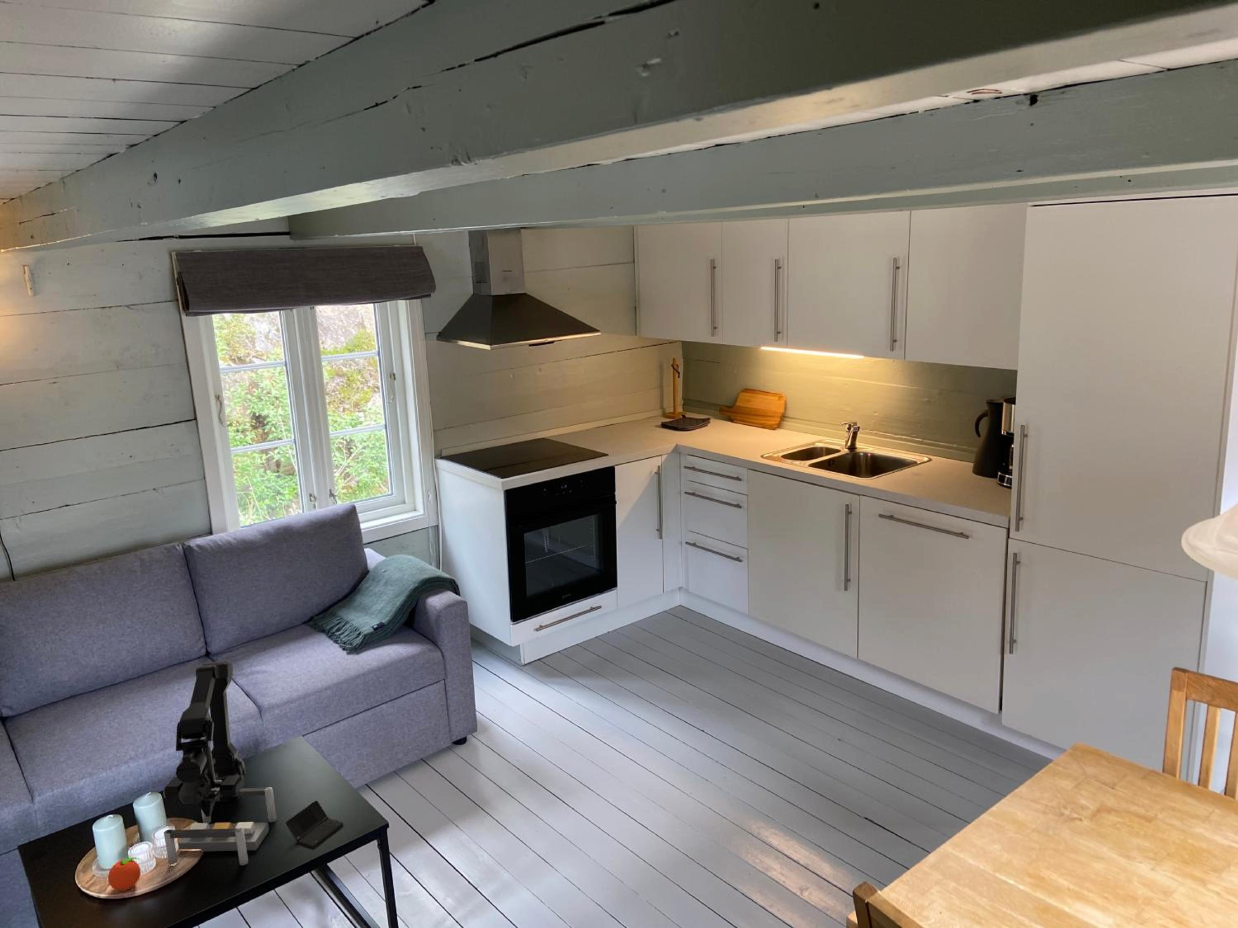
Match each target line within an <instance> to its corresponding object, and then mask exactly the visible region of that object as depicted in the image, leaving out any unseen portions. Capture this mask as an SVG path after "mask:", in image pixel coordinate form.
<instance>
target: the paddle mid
mask: <svg viewBox="0 0 1238 928" xmlns="http://www.w3.org/2000/svg"><path fill="white" fill-rule="evenodd" d="M214 824H215V825H214V827H213V829H232V825H231V824H232V823H231V822H215V823H214Z"/></svg>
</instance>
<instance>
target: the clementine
mask: <svg viewBox="0 0 1238 928" xmlns="http://www.w3.org/2000/svg"><path fill="white" fill-rule="evenodd" d="M135 859H138V860H140V861H141V862H143V860H142V859H141V858H140V857H139V858H138V857H135V856H134V857H133V856H132V857H128V858H125V859H121V860H119V861H117V862H116V863H114V864H113V865H112V866H111V868H110V870H109V872H108V875H107V881H108V884H109V886H110V887H111V888H112V889H114V890H116V891H127V890H130V889H131V888H132V887H134V886H136V884H137V883H138V881H139V880H140V876H141V867H140V865H139V864H138V863H137V862H136V861H135Z"/></svg>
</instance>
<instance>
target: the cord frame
mask: <svg viewBox="0 0 1238 928" xmlns="http://www.w3.org/2000/svg"><path fill="white" fill-rule="evenodd" d="M242 788H243V789H241V790H240V791H239V792H238V794H237V795H235V796H241V797H255V796H256V797H260V796H261V797H263V796H264V799H265V803H266V811H267V818H268V822H269V823H274V822H276V821H277V812H276V811H277V810H276V806H275V805H276V804H275V798H274V791H273V787H256V788H255V787H249V788H247V787H242ZM217 797H223V796H222V795H221V794H220V793H219V794H218V795H217ZM217 797H216V798H217ZM200 811H201V817H202V823H208V824H211V822H212V818H211V817H212V815H211V816H210V817H206V816H205V814H204V813H203V811H202V810H201V809H200ZM163 837H164V843H165V848H166V854H167V855H166V856H167V860H168V865H169V864H170V865H171V864H174V863H177V861H178V855H177V850H176V849H177V848H176V843H175V839H182V838H209V837H236V842H237V849H238V851H237V855H238V861H239V865H240V866H245V865H247V864H248V863H249V857H248V852H247V851H248V850H247V849H246V842H245V836H244V829H243V828H236V829H192V830H189V829H172V828H170V829H166V830H164V831H163ZM178 862H179V861H178Z"/></svg>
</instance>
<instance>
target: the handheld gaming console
mask: <svg viewBox="0 0 1238 928" xmlns="http://www.w3.org/2000/svg"><path fill="white" fill-rule="evenodd" d="M285 825H286V826H287V829H288V830H289V831H290V833H291V835H292V836H293V838H294V839H295V840H296V844H299V845H302V846H304V847H307V848H310V849H315V848H316V847H318V846H319V845H320V844H322V843H323V842H324V841H326V839H328V838H330V836H331V835H333V834H335V833H336V832H338V830H340V828H343V826H344V822H343V821H338V820H336V819H332V818H329V816H327V814H326V812H325V811H324V809H323V807H322V805H321V804H320V803H319V801H318V800H314V801H313V802H311V803H310V804H309V805H307V806H306V807H305V808H303V809H302V810H301V811H299V812H298V813H296V814H294V815H293V816H292V817H290V818H289V819H288V820H287V821H286V822H285Z"/></svg>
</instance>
